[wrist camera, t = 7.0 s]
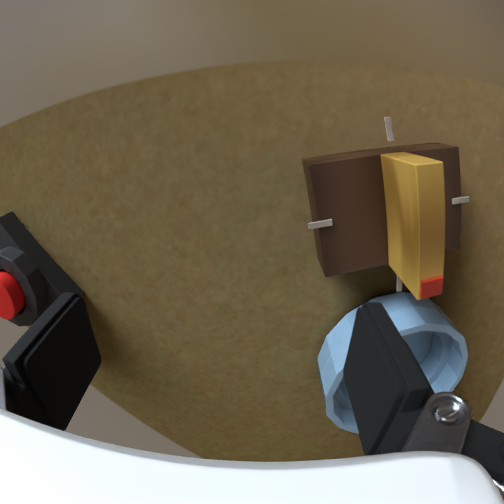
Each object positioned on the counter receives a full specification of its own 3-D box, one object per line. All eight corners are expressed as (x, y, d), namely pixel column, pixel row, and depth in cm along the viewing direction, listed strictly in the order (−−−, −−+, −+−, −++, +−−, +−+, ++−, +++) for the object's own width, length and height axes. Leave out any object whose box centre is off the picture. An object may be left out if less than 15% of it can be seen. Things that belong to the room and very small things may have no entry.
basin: (321, 405, 28) (328, 445, 23) (310, 306, 24) (320, 348, 19) (433, 377, 27) (451, 410, 22) (449, 275, 22) (480, 306, 18)
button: (-7, 286, 20) (-19, 296, 18) (3, 261, 19) (-10, 271, 17) (18, 316, 21) (8, 327, 19) (31, 294, 20) (19, 305, 18)
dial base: (312, 285, 23) (319, 308, 20) (286, 128, 19) (291, 128, 16) (445, 257, 22) (465, 274, 19) (438, 113, 18) (463, 114, 15)
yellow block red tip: (380, 154, 16) (417, 165, 12) (404, 151, 16) (446, 162, 12) (388, 265, 19) (418, 303, 14) (410, 260, 19) (444, 296, 14)
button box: (-8, 254, 23) (-33, 271, 19) (13, 209, 21) (-17, 223, 17) (57, 327, 25) (37, 351, 22) (86, 290, 24) (63, 316, 20)
